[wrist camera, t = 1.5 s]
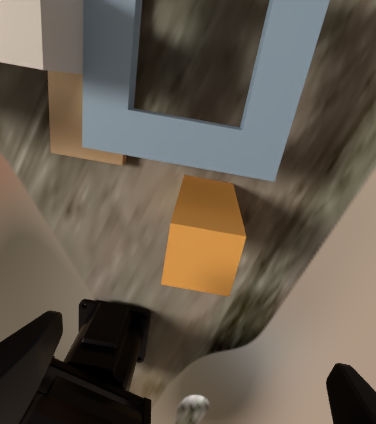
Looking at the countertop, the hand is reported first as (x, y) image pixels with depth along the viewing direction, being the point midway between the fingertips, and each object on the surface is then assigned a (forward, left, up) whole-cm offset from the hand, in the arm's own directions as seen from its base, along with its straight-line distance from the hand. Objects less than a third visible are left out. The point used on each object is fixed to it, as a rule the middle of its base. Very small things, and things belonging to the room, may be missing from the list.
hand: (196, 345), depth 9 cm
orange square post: (0, 0, -13) cm, 13 cm away
